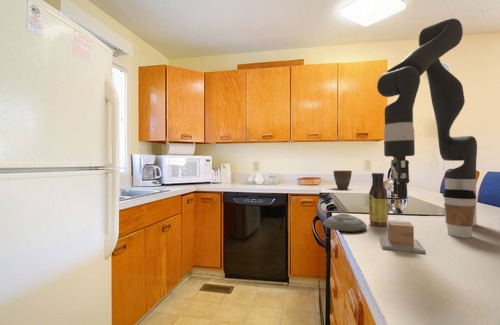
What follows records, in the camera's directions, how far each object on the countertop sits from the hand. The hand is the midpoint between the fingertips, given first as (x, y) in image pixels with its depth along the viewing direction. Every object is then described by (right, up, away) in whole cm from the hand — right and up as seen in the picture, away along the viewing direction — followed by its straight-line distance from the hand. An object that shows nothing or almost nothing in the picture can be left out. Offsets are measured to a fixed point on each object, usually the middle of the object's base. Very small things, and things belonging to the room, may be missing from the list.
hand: (399, 196), depth 72 cm
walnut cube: (0, -13, 0) cm, 13 cm away
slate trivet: (0, -14, 0) cm, 14 cm away
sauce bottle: (+6, -14, +23) cm, 28 cm away
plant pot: (+36, -14, +142) cm, 147 cm away
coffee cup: (+25, -14, +9) cm, 30 cm away
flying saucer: (-9, -15, +20) cm, 26 cm away
